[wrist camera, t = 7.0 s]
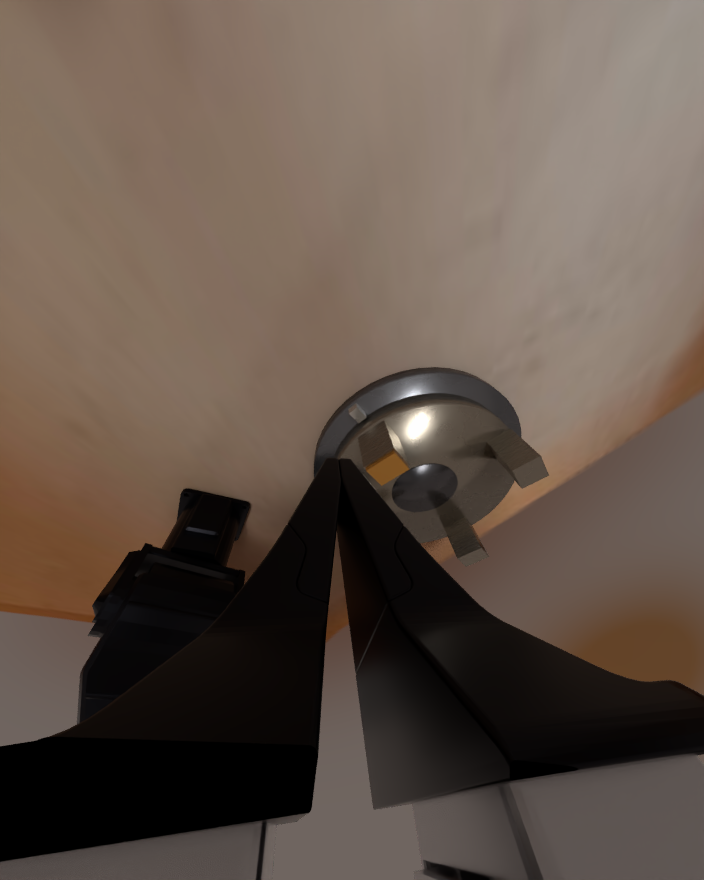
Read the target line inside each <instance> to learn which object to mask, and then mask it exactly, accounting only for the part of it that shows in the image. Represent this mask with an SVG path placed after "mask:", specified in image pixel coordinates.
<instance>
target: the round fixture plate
mask: <svg viewBox="0 0 704 880" xmlns="http://www.w3.org/2000/svg"><path fill="white" fill-rule="evenodd" d="M366 417H367V418H365V419H364V420H363V421H361V422H360V423H357V424H356V425H355V426H354V427H353V428H352V429H351V430H350V431H349V432H348V433H347V435H346V436H345V437H344V439H343V440H342V441H341V443H340V445H339V446H338V448H337V450H336V452H335V455H334V457H333V458H338V460H339V459H340V458H347V459H351V460H352V461H353V463H354V464H355V465H356V466H357V467H358V469H359V470H360V471H361V472H362V474H363V475H364V476H365V477H366V479H367V480H368V481H369V482H370V483H371V485H372V486H373V487H374V488H375V490H376V491H377V492H378V493H379V495H380V496H381V497H382V498H383V499H384V501H385V502H386V503H387V504H388V506H389V507H390V508H391V509H392V511H393V512H394V513H395V514H396V516H397V517H398V518H399V519H400V520H401V522H402V523H403V524H404V526H406V528H407V529H408V530H409V531H410V533H411V534H412V535H413V536H414V537H415V539H416V540H417V541H418V542H419V543H425V542H430V541H434V540H438V539H441V538H444V537H447V536H448V538H449V540H450V543H451V545H452V547H453V549H454V552H455V554H456V556H457V558H458V559H459V560H460V561H461V562H462V563H463V564H464V565H465V566H469V565H471V564H473V563H476V562H478V561H480V560H482V559H485V558H487V557H489V555H488V554H487V552H486V550H485V548H484V546H483V545H482V543H481V541H480V539H479V537H478V535H477V534H476V532H475V530H474V528H473V526H472V525H473V524H474V523H476V522H478V521H479V520H481V519H482V518H483V517H485V516H486V515H487V514H488V513H490V512H491V511H492V510H493V509H494V508H495V507H496V506H497V505H498V504H499V503H500V502H501V501H502V500H503V498H504V497H505V496H506V494H507V493H508V491H509V490H510V488H511V486H512V484H513V483H514V480H515V481H516V482H517V484H518V485H519V486H520V487H521V488H524V487H526V486H528V485H530V484H533V483H535V482H537V481H539V480H541V479H543V478H545V477H547V476H549V474H548V472H547V470H546V467H545V465H544V462H543V460H542V458H541V456H540V455H539V454H538V453H537V452H536V451H535V450H534V449H533V448H532V447H530V446H529V445H528V444H527V443H526V442H525V441H524V440H523V439H522V438H521V437H519V436H518V435H517V434H516V433H515V432H514V431H513V430H512V429H509V428H508V427H507V426H506V425H505V424H504V423H503V422H502V421H501V420H500V419H499V418H498V417H497V416H496V415H495V414H493V413H492V412H491V411H490V410H489V409H488V408H486V407H485V406H483V405H482V404H480V403H478V402H476V401H474V400H472V399H470V398H466V397H463V396H460V395H454V394H448V393H429V394H419V395H415V396H410V397H406V398H402V399H400V400H397V401H394V402H391V403H389V404H387V405H385V406H383V407H381V408H378V409H377V410H375V411H374V412H372V413H370V414H369V415H367V416H366Z"/></svg>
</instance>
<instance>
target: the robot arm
mask: <svg viewBox="0 0 704 880" xmlns="http://www.w3.org/2000/svg"><path fill="white" fill-rule="evenodd" d="M249 507H250V504H249V503H248V502H246V501H241V500H237V499H232V498H228V497H223V496H219V495H214V494H210V493H205V492H201V491H196V490H192V489H184V490H183V491H182V493H181V496H180V503H179V510H178V517H177V522H176V524H175V526H174V527H173V529H172V531H171V533H170V535H169V536H168V538H167V540H166V542H165V543H164V545H163V547H162V549H161V548H157V547H153V546H152V545H151V544H147V543H145V545H144V547H143V548H142V550H141V551H140V550H138V551H133V552H129V553H128V555H127V556H126V558H125V559H124V561H123V562H122V564H121V565H120V567H119V568H118V570H117V571H116V573H115V574H114V575H113V577H112V578H111V579H110V581H109V582H108V584H107V585H106V586H105V588H104V589H103V590H102V592H101V593H100V595H99V596H98V597H97V599H96V600H95V602H94V604H93V605H92V607H93V610H94V613H95V618H94V620H93V621H92V622H93V623H95V624H94V626H93V628H92V629H91V631H90V633H89V634H88V636H93V637H101V638H100V640H99V641H98V643H97V645H96V646H95V648H94V650H93V651H92V653H91V655H90V657H89V658H88V660H87V661H86V663H85V665H84V666H83V668H82V671H81V673H80V684H79V699H78V716H77V725H75V726H73V727H71V728H70V729H67V730H65V731H62V732H60V733H57V734H55V735H52V736H50V737H46V738H42V739H39V740H37V741H32V742H26V743H20V744H13V745H7V746H0V880H272V876H273V864H274V852H275V851H274V850H275V840H276V828H277V825H278V824H285V823H292V822H297V821H298V820H299V819H301V818H302V817H303V816H305V815H306V814H308V813H309V812H310V811H311V808H312V800H313V792H314V783H315V774H316V767H317V760H318V749H319V733H320V717H321V701H322V686H323V671H324V655H325V640H326V627H327V616H328V605H329V597H330V588H331V578H332V568H333V559H334V549H335V540H336V530H337V534H338V542H339V549H340V557H341V565H342V572H343V580H344V588H345V595H346V603H347V611H348V618H349V626H350V634H351V641H352V649H353V656H354V664H355V671H356V680H357V687H358V696H359V703H360V710H361V718H362V726H363V734H364V741H365V749H366V757H367V764H368V772H369V780H370V787H371V795H372V802H373V808H374V809H382V808H388V807H395V806H401V805H407V804H412V807H413V813H414V819H415V826H416V831H417V838H418V844H419V851H420V857H421V863H422V869H423V870H418V871H414V880H704V764H703V762H702V761H701V760H700V758H699V757H698V756H697V755H701V754H704V695H702V694H700V693H698V692H696V691H694V690H692V689H690V688H688V687H686V686H685V685H683V684H681V683H679V682H676V681H671V680H668V681H667V680H666V681H653V682H644V681H637V680H633V679H629V678H625V677H623V676H620V675H617V674H614V673H611V672H609V671H607V670H604V669H602V668H600V667H597V666H595V665H593V664H591V663H589V662H587V661H585V660H583V659H580V658H579V657H576V656H574V655H572V654H570V653H568V652H566V651H564V650H562V649H560V648H558V647H555V646H553V645H551V644H549V643H547V642H545V641H543V640H541V639H539V638H537V637H534V636H532V635H530V634H528V633H526V632H524V631H522V630H520V629H518V628H516V627H514V626H512V625H510V624H507V623H505V622H503V621H502V620H500V619H498V618H497V617H495V616H493V615H492V614H491V613H489V612H488V611H486V610H485V609H484V608H483V607H481V606H480V605H479V604H478V603H477V602H476V601H475V600H474V599H473V598H472V597H471V596H470V595H469V594H468V593H467V592H466V591H465V590H464V589H463V588H462V587H461V586H460V585H459V584H458V583H457V582H456V581H455V580H454V579H453V578H452V577H451V576H450V575H449V574H448V573H447V572H446V571H445V570H444V569H443V568H442V567H441V566H440V565H439V564H438V563H437V562H436V561H435V560H434V558H433V557H432V556H431V555H430V554H429V553H428V552H427V551H426V550H425V549H424V548H423V547H422V546H421V544H420V543H419V542H418V541H417V540H416V539H415V537H414V536H413V535H412V534H411V533H410V531H409V530H408V529H407V528H406V526H404V524H403V523H402V522H401V520H400V519H399V518H398V517H397V516H396V514H395V513H394V512H393V511H392V509H391V508H390V507H389V506H388V504H387V503H386V502H385V501H384V499H383V498H382V497H381V496H380V495H379V493H378V492H377V491H376V490H375V488H374V487H373V486H372V485H371V483H370V482H369V481H368V480H367V479H366V477H365V476H364V475H363V474H362V472H361V471H360V470H359V469H358V467H357V466H356V465H355V464H354V463H353V461H352V460H351V459H347V458H340V459H339V460H338V458H326V459H325V461H324V463H323V464H322V466H321V468H320V469H319V471H318V473H317V475H316V476H315V478H314V480H313V481H312V483H311V485H310V486H309V488H308V490H307V491H306V493H305V495H304V497H303V498H302V500H301V502H300V503H299V505H298V507H297V508H296V510H295V512H294V513H293V515H292V517H291V519H290V520H289V522H288V525H286V527H285V528H284V530H283V532H282V534H281V535H280V537H279V538H278V540H277V541H276V543H275V544H274V546H273V548H272V549H271V551H270V552H269V553H268V555H267V556H266V557H265V559H264V560H263V561H262V563H261V564H260V565H259V567H258V568H257V569H256V571H255V572H254V573H253V574H252V576H251V577H250V578H249V579H248V581H247V582H246V583H245V585H244V579H245V571H243V570H236V569H232V568H229V567H226V565H227V562H228V559H229V556H230V552H231V549H232V546H233V543H234V541H236V540H238V538H239V535H240V533H241V530H242V527H243V524H244V521H245V519H246V516H247V513H248V510H249Z"/></svg>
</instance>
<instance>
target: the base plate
mask: <svg viewBox="0 0 704 880" xmlns="http://www.w3.org/2000/svg"><path fill="white" fill-rule="evenodd" d="M429 393H448V394H454V395H460V396H463V397H466V398H470V399H472V400H474V401H476V402H478V403H480V404H482V405H483V406H485V407H486V408H488V409H489V410H490V411H491V412H492V413H493V414H495V415H496V416H497V417H498V418H499V419H500V420H501V421H502V422H503V423H504V424H505V425H506V426H507V427H508V428H509V429H512V430H513V431H514V432H515V433H516V434H517V435H518V436H519V437H521V427H520V423H519V419H518V416H517V414H516V412H515V410H514V408H513V407H512V405H511V404H510V403H509V401H508V400H507V399H506V398H505V397H504V396H503V395H502V394H501V393H500V392H499V391H497V390H496V389H495V388H494V387H492V386H491V385H490V384H488V383H487V382H485V381H483V380H482V379H480V378H478V377H477V376H474V375H471V374H469V373H466V372H463V371H459V370H455V369H450V368H437V367H432V368H417V369H412V370H406V371H402V372H398V373H395V374H392V375H389V376H386V377H384V378H382V379H379V380H377V381H375V382H373V383H371V384H369V385H367V386H366V387H364V388H363V389H361V390H359V391H358V392H356V393H355V394H354V395H353V396H351V397H350V398H349V399H347V400H346V401H345V402H344V403H343V404H342V405H341V406H340V407H339V408H338V409H337V410H336V411H335V413H334V414H333V415H332V417H331V418H330V419H329V421H328V422H327V424H326V425H325V427H324V429H323V431H322V433H321V435H320V438H319V440H318V443H317V447H316V452H315V460H314V478H315V476H316V475H317V473H318V471H319V469H320V468H321V466H322V464H323V463H324V461H325V459H326V458H333V457H334V455H335V452H336V450H337V448H338V446H339V445H340V443H341V441H342V440H343V439H344V437H345V436H346V435H347V433H348V432H349V431H350V430H351V429H352V428H353V427H354V426H355V425H356V424H357V423H360V422H361V421H363V420H364V419H365V418H367V417H366V416H367V415H369V414H370V413H372V412H374V411H375V410H377V409H378V408H381V407H383V406H385V405H387V404H389V403H391V402H394V401H397V400H400V399H402V398H406V397H410V396H415V395H419V394H429Z"/></svg>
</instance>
